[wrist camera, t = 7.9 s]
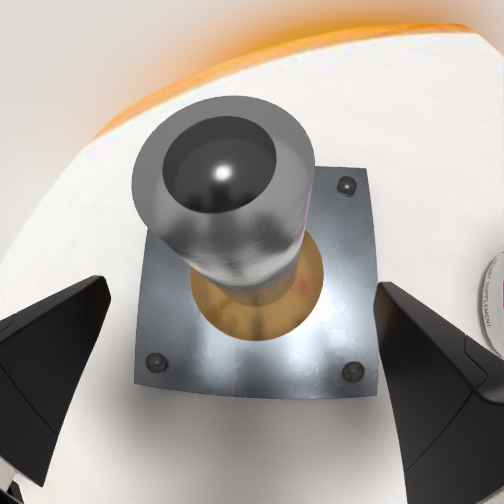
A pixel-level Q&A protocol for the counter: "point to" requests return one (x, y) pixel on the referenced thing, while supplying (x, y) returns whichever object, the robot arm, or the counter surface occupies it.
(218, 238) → the sleeve
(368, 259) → the flange plate
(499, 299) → the supplement can
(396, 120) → the counter surface
